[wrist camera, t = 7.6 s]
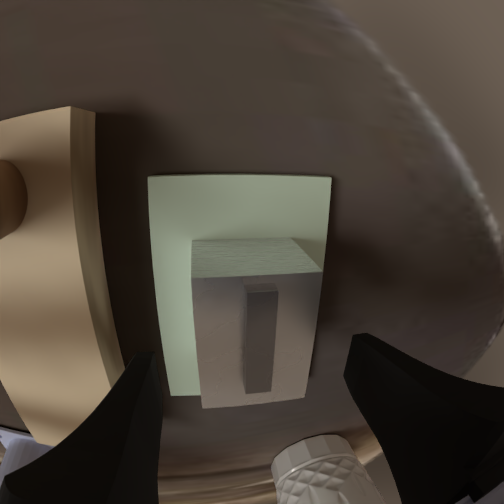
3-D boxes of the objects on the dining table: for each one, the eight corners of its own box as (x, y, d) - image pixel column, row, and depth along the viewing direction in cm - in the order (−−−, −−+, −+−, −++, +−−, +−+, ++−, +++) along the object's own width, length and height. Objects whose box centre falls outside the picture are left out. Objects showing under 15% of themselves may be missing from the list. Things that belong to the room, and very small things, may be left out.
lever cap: (281, 345, 16) (308, 406, 12) (198, 352, 16) (203, 418, 11) (290, 237, 14) (329, 278, 10) (191, 240, 14) (191, 286, 9)
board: (303, 378, 18) (305, 384, 18) (171, 388, 17) (170, 395, 16) (326, 176, 14) (331, 177, 14) (149, 175, 13) (147, 176, 12)
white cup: (249, 478, 22) (273, 575, 13) (289, 426, 20) (334, 545, 11) (324, 477, 24) (358, 557, 15) (369, 428, 22) (422, 516, 13)
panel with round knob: (140, 420, 17) (133, 510, 11) (48, 412, 16) (23, 489, 10) (95, 112, 11) (13, 93, 5) (-21, 136, 10) (-117, 148, 4)
